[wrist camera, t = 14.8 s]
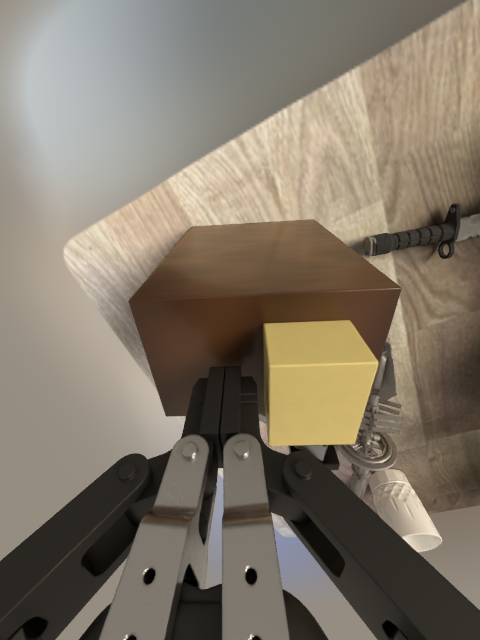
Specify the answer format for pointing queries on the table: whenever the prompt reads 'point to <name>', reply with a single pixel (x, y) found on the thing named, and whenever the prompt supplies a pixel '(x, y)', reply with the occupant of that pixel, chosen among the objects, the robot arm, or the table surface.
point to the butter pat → (315, 382)
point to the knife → (427, 235)
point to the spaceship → (369, 432)
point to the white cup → (403, 509)
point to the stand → (251, 300)
